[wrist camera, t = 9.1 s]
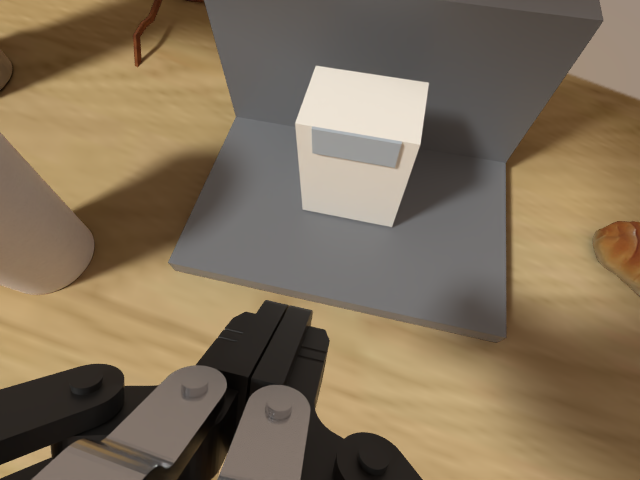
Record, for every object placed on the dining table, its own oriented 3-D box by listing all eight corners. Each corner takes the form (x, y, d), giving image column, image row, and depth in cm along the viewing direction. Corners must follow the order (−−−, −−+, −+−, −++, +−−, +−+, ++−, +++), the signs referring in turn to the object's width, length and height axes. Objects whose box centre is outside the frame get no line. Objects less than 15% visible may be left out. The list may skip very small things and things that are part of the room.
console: (175, 270, 28) (64, 150, 16) (255, 93, 37) (223, -69, 25) (496, 342, 25) (654, 264, 13) (498, 132, 34) (593, -28, 22)
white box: (302, 211, 28) (294, 125, 20) (317, 160, 31) (315, 65, 23) (391, 229, 27) (420, 147, 19) (400, 175, 30) (429, 82, 22)
